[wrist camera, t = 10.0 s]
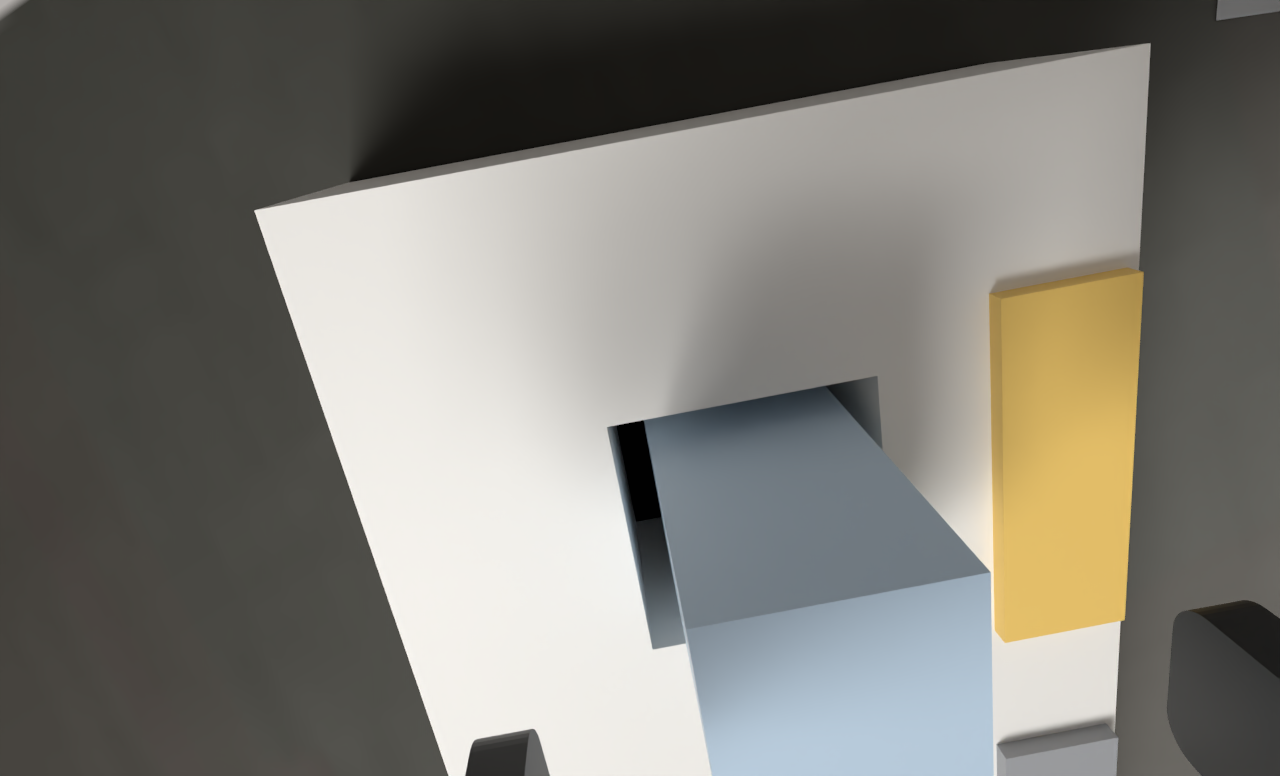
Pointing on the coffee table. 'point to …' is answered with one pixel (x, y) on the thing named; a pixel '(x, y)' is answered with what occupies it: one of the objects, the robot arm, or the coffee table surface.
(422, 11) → the coffee table surface
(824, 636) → the plug
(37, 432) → the coffee table surface
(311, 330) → the port panel
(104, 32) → the coffee table surface
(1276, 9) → the holster
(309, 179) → the coffee table surface
